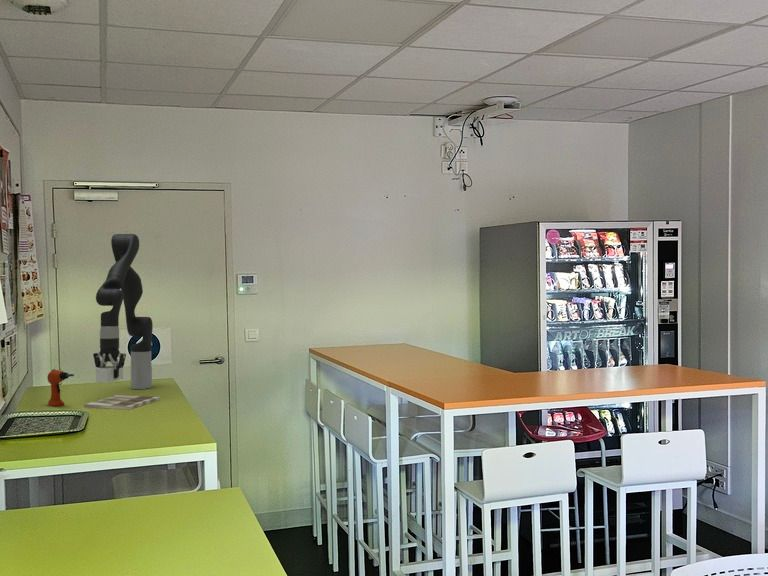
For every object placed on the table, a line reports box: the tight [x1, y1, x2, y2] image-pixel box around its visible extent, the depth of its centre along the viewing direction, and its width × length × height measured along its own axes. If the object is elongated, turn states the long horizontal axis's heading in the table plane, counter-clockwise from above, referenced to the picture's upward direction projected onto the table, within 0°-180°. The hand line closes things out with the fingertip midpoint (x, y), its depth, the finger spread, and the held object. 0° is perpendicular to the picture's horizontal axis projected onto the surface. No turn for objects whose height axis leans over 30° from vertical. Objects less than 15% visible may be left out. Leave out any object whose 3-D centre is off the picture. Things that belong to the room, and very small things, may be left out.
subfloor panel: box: [83, 394, 160, 411], centre depth 319 cm, size 24×20×1 cm
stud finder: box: [95, 364, 124, 383], centre depth 320 cm, size 12×5×6 cm, turn 168°
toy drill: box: [47, 368, 75, 408], centre depth 311 cm, size 5×19×15 cm, turn 51°
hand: (109, 377), depth 320 cm, fingers closed on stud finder, 5 cm apart
